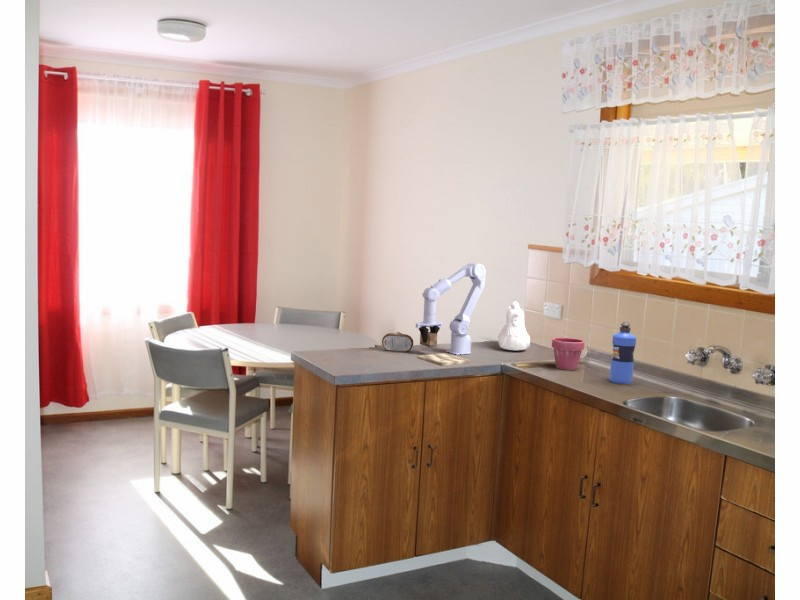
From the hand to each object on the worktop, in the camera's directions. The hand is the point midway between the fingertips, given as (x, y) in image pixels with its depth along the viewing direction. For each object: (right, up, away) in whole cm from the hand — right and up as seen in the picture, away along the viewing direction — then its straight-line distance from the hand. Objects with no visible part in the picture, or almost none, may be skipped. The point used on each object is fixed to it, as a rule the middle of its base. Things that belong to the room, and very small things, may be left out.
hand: (428, 342), depth 337 cm
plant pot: (+61, -11, -17) cm, 64 cm away
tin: (-15, -5, +4) cm, 16 cm away
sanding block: (0, -2, 0) cm, 2 cm away
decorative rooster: (+44, -5, +24) cm, 51 cm away
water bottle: (+78, -14, -40) cm, 89 cm away
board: (+7, -8, -13) cm, 16 cm away
